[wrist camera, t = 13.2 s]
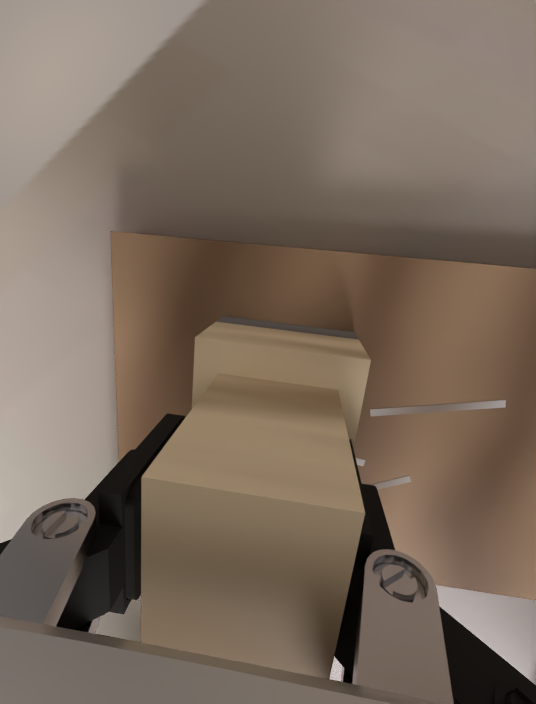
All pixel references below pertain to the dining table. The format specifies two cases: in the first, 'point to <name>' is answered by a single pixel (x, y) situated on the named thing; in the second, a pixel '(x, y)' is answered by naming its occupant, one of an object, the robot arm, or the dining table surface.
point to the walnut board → (382, 383)
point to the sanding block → (257, 499)
